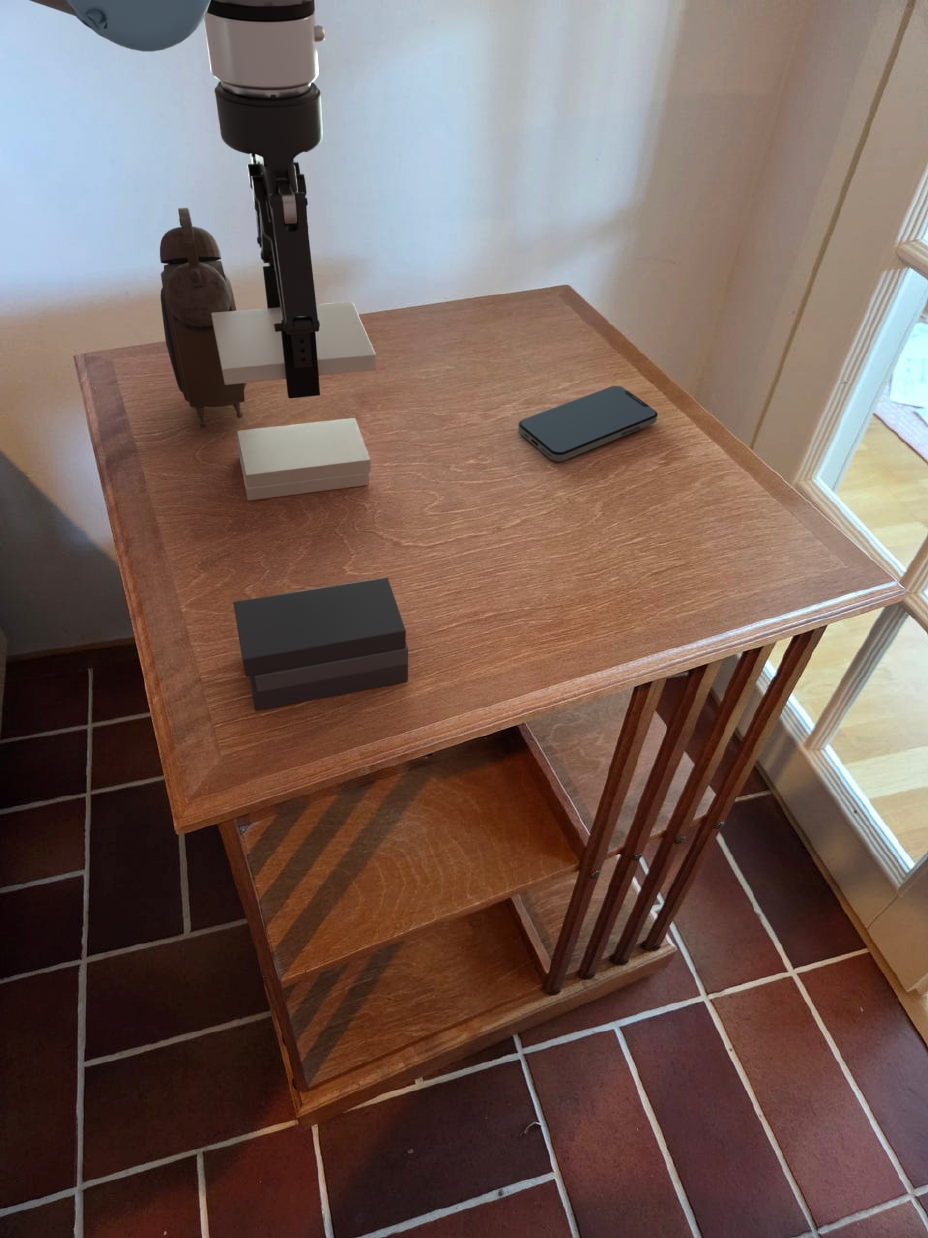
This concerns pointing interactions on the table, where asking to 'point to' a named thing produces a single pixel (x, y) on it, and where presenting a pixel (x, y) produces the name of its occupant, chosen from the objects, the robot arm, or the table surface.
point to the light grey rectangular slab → (259, 350)
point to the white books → (303, 458)
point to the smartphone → (587, 423)
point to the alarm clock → (196, 315)
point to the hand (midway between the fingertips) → (294, 363)
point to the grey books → (321, 642)
